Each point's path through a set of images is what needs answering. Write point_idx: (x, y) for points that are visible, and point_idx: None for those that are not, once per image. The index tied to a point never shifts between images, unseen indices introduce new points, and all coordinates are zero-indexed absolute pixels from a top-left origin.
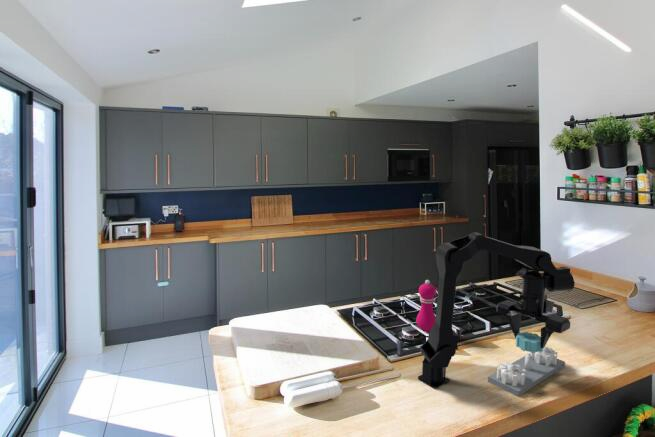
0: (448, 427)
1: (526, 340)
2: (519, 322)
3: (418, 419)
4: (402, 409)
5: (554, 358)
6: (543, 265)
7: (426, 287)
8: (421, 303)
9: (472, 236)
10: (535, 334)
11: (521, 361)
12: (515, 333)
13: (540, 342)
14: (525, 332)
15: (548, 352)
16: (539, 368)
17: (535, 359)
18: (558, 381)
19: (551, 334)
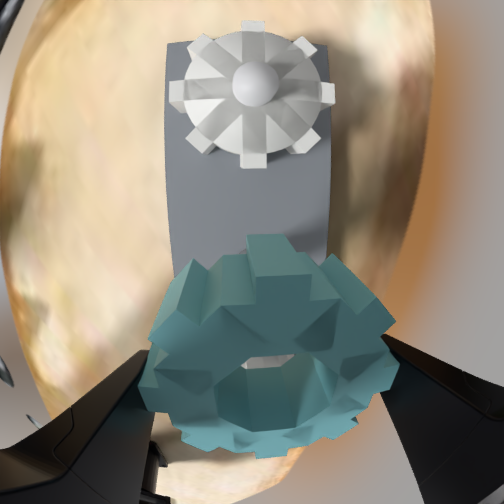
0: (262, 487)
1: (287, 446)
2: (83, 460)
3: (223, 494)
4: (193, 494)
5: (323, 107)
6: None
7: None
8: None
9: None
10: (284, 301)
11: (188, 221)
12: (151, 428)
13: (387, 409)
14: (170, 345)
15: (285, 91)
16: (284, 211)
17: (230, 152)
18: (360, 204)
19: (494, 385)
